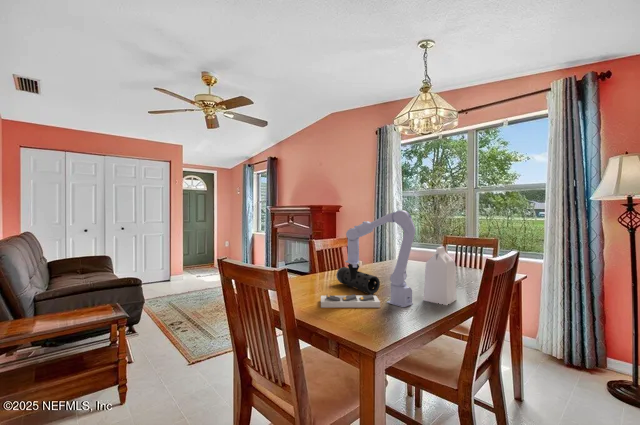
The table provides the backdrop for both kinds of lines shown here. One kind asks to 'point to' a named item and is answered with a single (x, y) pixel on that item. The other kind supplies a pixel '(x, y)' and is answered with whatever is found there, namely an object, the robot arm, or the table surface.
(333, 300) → the rocker
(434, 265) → the milk
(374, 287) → the black foam roller
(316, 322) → the table surface
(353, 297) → the middle rocker
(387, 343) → the table surface
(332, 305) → the switch strip
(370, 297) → the rocker
